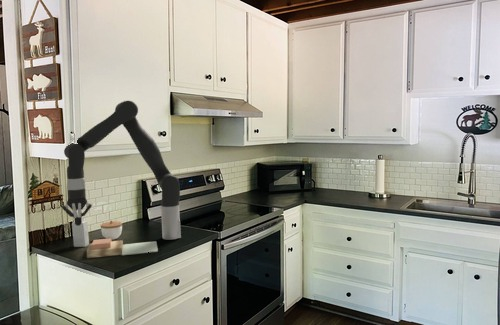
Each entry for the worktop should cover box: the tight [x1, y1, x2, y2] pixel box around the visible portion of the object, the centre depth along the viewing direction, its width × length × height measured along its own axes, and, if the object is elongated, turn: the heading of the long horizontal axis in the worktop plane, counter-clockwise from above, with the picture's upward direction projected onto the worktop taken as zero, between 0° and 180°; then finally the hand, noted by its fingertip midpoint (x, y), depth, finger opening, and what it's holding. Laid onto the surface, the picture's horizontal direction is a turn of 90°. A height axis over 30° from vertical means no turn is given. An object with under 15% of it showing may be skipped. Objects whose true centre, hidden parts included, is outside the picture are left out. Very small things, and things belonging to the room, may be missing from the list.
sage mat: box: [121, 241, 159, 256], centre depth 189 cm, size 16×16×1 cm
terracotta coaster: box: [92, 238, 113, 249], centre depth 184 cm, size 8×8×2 cm
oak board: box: [86, 239, 124, 259], centre depth 185 cm, size 15×13×3 cm
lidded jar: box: [100, 220, 123, 241], centre depth 208 cm, size 11×11×9 cm
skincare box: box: [71, 220, 90, 248], centre depth 195 cm, size 6×4×12 cm
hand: (78, 225), depth 181 cm, fingers closed
